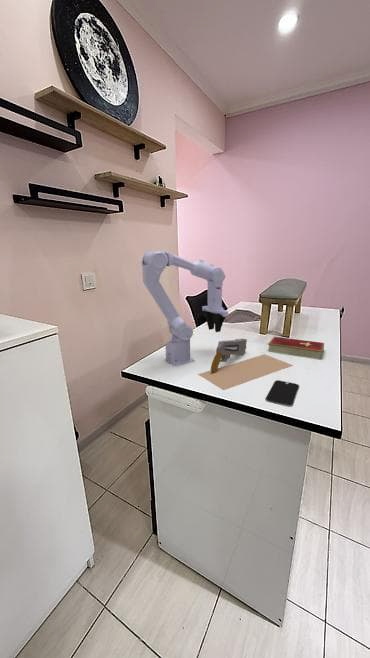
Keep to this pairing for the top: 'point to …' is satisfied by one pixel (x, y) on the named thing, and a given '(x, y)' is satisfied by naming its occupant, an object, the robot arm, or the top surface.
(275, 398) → the smartphone
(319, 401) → the top surface
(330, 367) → the top surface
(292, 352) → the hardcover book
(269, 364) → the mat
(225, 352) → the gun
